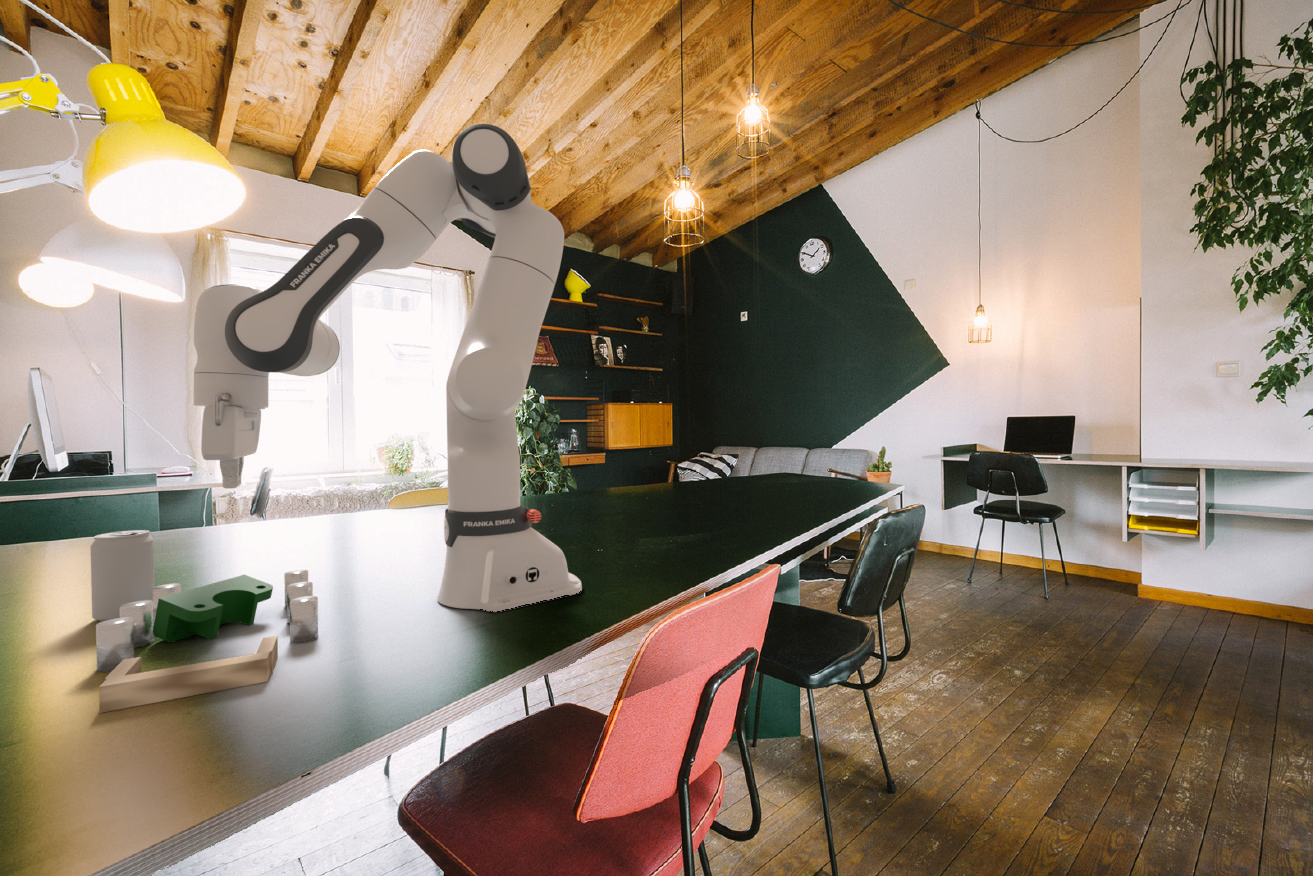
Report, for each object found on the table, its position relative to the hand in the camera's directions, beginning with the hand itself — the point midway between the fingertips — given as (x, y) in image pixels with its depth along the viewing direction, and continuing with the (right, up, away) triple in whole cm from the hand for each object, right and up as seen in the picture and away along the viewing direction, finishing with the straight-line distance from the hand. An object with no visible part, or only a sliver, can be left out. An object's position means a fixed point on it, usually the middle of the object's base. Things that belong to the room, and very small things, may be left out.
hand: (232, 487), depth 82 cm
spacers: (+7, -18, -10) cm, 22 cm away
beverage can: (-12, -18, -4) cm, 22 cm away
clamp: (+5, -19, -9) cm, 21 cm away
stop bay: (+15, -18, -24) cm, 34 cm away
